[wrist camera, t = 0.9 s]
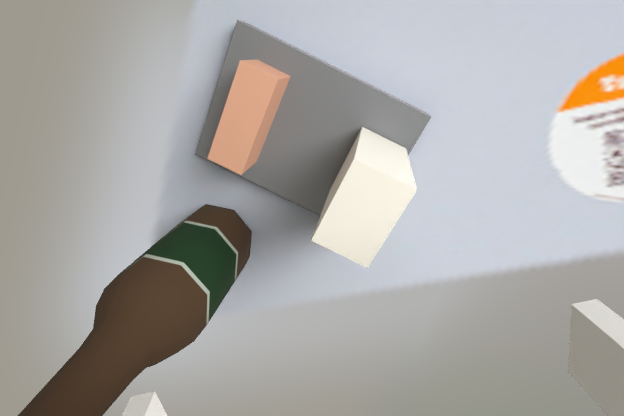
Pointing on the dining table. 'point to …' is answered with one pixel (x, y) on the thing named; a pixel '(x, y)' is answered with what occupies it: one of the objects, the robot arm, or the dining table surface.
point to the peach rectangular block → (247, 115)
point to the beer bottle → (150, 312)
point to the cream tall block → (366, 198)
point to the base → (309, 118)
